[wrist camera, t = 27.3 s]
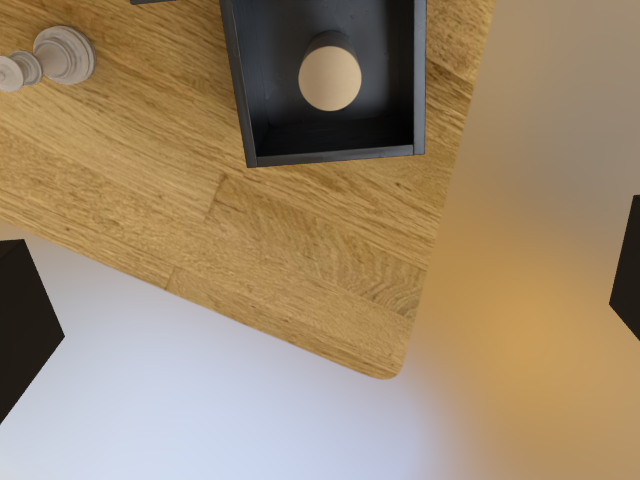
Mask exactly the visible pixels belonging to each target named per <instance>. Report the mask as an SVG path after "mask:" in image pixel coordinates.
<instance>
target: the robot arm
mask: <svg viewBox="0 0 640 480" xmlns="http://www.w3.org/2000/svg"><path fill="white" fill-rule="evenodd" d="M609 305H610V306H611V307H612V309H613V310H614V311H615V312H616V313H617V314H618V316H619V317H620V318H621V319H622V320H623V322H624V323H625V324H626V325H627V326H628V328H629V329H630V330H631V331H632V332H633V333H634V335H635V336H636V337H637V338H638V339H639V341H640V195H634V196H633V201H632V205H631V210H630V214H629V218H628V223H627V227H626V232H625V236H624V240H623V245H622V249H621V253H620V258H619V262H618V266H617V271H616V275H615V280H614V284H613V289H612V293H611V297H610V302H609ZM64 337H65V335H64V333H63V331H62V328H61V326H60V323H59V321H58V319H57V316H56V314H55V312H54V309H53V307H52V304H51V302H50V300H49V297H48V295H47V293H46V290H45V288H44V286H43V283H42V281H41V279H40V276H39V274H38V271H37V269H36V266H35V264H34V262H33V259H32V257H31V255H30V252H29V250H28V248H27V245H26V243H25V240H24V239H19V240H5V241H0V424H1V423H2V421H3V420H4V419H5V417H6V416H7V415H8V413H9V412H10V410H11V409H12V408H13V407H14V405H15V404H16V403H17V401H18V400H19V398H20V397H21V396H22V394H23V393H24V392H25V390H26V389H27V388H28V386H29V385H30V383H31V382H32V381H33V379H34V378H35V377H36V375H37V374H38V373H39V371H40V370H41V368H42V367H43V366H44V364H45V363H46V362H47V360H48V359H49V358H50V356H51V355H52V354H53V352H54V351H55V349H56V348H57V347H58V345H59V344H60V343H61V341H62V340H63V338H64Z"/></svg>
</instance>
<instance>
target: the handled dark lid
mask: <svg viewBox="0 0 640 480" xmlns="http://www.w3.org/2000/svg"><path fill="white" fill-rule="evenodd" d="M166 1H176V0H130V2H131V4H132V5H136V4H146V3H156V2H166Z"/></svg>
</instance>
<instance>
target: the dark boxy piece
mask: <svg viewBox="0 0 640 480" xmlns="http://www.w3.org/2000/svg"><path fill="white" fill-rule="evenodd" d="M219 3H220V9H221V15H222V21H223V27H224V33H225V39H226V45H227V51H228V57H229V63H230V69H231V75H232V81H233V87H234V93H235V99H236V105H237V111H238V117H239V123H240V129H241V135H242V141H243V147H244V153H245V159H246V165H247V168H256V167H269V166H282V165H295V164H308V163H320V162H333V161H346V160H359V159H371V158H384V157H397V156H410V155H422V154H425V95H426V6H427V0H219ZM326 31H335V32H338V33H341V34H343V35H344V36H346V37H347V38H348V39H349V40H350V42H351V43H352V45H353V47H354V50H355V53H356V57H357V60H358V63H359V67H360V71H361V86H360V89H359V92H358V94H357V96H356V97H355V99H354V100H353V101H352V102H351V103H350V104H349V105H347V106H346V107H344V108H342V109H339V110H335V111H324V110H320V109H318V108H316V107H314V106H312V105H311V104H310V103H309V102H308V101H307V100H306V99H305V98H304V96H303V95H302V93H301V90H300V87H299V81H298V76H299V70H300V67H301V64H302V61H303V58H304V55H305V52H306V49H307V46H308V44H309V43H310V41H311V40H312V39H313V38H314V37H315V36H317V35H318V34H320V33H322V32H326Z"/></svg>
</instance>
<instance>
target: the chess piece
mask: <svg viewBox="0 0 640 480" xmlns="http://www.w3.org/2000/svg"><path fill="white" fill-rule="evenodd" d="M95 67H96V55H95V51H94V48H93V46H92V44H91V43H90V41H89V40H88V38H87V37H86V36H85V35H84V34H83V33H82V32H80V31H78V30H77V29H75V28H72V27H69V26H61V25H59V26H55V27H51V28H49V29H45V30H43V31H42V32H40V33H39V35H38V36H37V37H36V39H35V42H34V46H33V54H32V53H31V52H29V51H26V50H17V51H14V52H12V53H10V55H9V56H5V55H0V90H2V91H5V92H16V91H19V90H20V89H21V88H22V87H23V86H24V85H25V86H32V85H36V84H37V83H39V82H40V81H41V80H42V78H43V74H44V75H46V76H47V77H48V78H49V79H51V80H52V81H54V82H56V83H59V84H62V85H72V84H76V83H80V82H83V81H85V80H86V79H88V78H89V77H90V76H91V75H92V74H93V72H94V70H95Z"/></svg>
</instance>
